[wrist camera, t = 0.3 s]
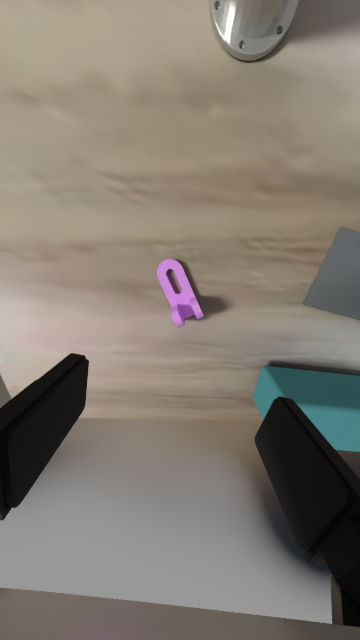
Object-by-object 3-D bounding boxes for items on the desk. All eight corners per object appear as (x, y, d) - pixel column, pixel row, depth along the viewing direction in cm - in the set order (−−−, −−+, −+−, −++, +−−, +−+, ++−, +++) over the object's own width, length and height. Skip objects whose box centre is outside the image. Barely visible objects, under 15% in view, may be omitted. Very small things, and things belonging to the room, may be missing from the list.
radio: (242, 391, 46) (270, 448, 32) (252, 358, 43) (288, 404, 28) (363, 404, 47) (443, 464, 33) (381, 372, 44) (479, 423, 29)
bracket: (200, 309, 39) (205, 318, 32) (178, 319, 40) (178, 330, 33) (177, 255, 35) (176, 252, 29) (153, 266, 36) (147, 266, 30)
